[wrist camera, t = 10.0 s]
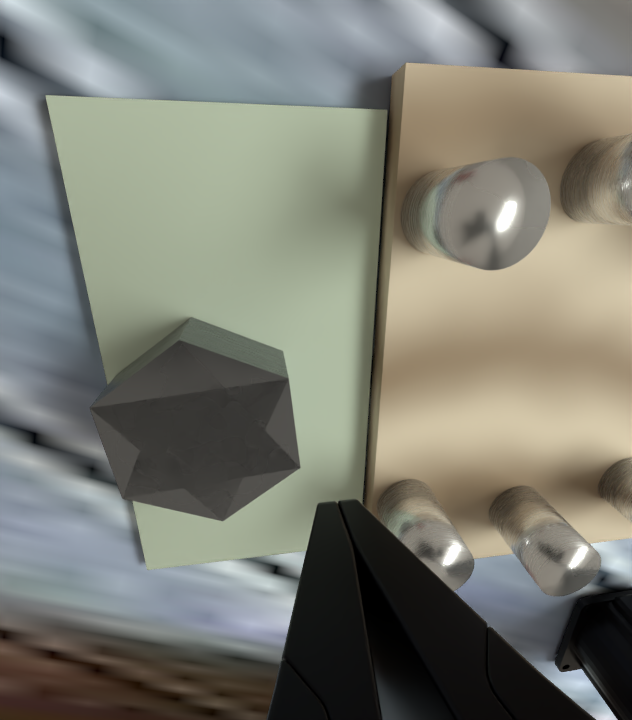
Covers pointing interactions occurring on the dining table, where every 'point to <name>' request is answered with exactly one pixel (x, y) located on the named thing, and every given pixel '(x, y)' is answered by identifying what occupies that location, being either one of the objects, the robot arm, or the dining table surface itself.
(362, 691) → the robot arm
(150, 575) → the dining table surface
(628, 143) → the steel spacers
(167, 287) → the mat
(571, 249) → the board
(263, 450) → the dark grey hexagonal block
